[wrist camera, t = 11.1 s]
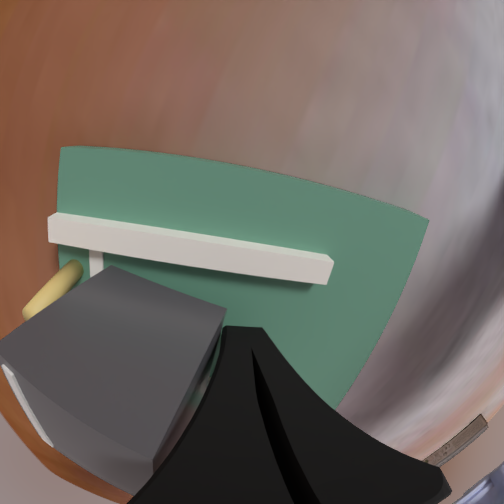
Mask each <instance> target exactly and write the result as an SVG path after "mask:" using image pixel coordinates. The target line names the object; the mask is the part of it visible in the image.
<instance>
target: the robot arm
mask: <svg viewBox="0 0 504 504" xmlns="http://www.w3.org/2000/svg"><path fill="white" fill-rule="evenodd" d="M451 492H452V490H451V488H450V486H449V484H448V482H447V480H446V478H445V476H444V475H443V473H442V471H441V469H440V468H439V467H437V466H435V465H432V464H429V463H426V462H423V461H420V460H418V459H415V458H412V457H410V456H407V455H405V454H403V453H401V452H399V451H397V450H395V449H393V448H391V447H389V446H387V445H385V444H383V443H381V442H379V441H378V440H376V439H374V438H373V437H371V436H370V435H368V434H366V433H365V432H363V431H362V430H360V429H359V428H357V427H356V426H354V425H353V424H352V423H350V422H349V421H348V420H346V419H345V418H344V417H342V416H341V415H340V414H339V413H337V412H336V411H335V410H334V409H333V408H331V407H330V406H329V405H328V404H327V403H326V402H325V401H324V400H323V399H321V398H320V397H319V396H318V395H317V394H316V393H315V392H314V391H313V390H312V388H311V387H310V386H309V385H308V384H307V383H306V382H305V381H304V380H303V379H302V378H301V377H300V375H299V374H298V373H297V372H296V371H295V370H294V368H293V367H292V366H291V365H290V364H289V362H288V361H287V360H286V359H285V357H284V356H283V355H282V353H281V352H280V351H279V349H278V348H277V347H276V345H275V344H274V343H273V341H272V340H271V338H270V337H269V336H268V334H267V333H266V331H265V330H264V329H263V328H262V327H246V326H230V325H226V326H224V327H223V328H222V335H221V343H220V351H219V356H218V359H217V362H216V365H215V368H214V371H213V374H212V377H211V379H210V381H209V384H208V386H207V388H206V391H205V393H204V395H203V397H202V399H201V401H200V403H199V405H198V407H197V409H196V411H195V413H194V415H193V417H192V418H191V420H190V422H189V424H188V425H187V427H186V429H185V430H184V432H183V433H182V435H181V437H180V438H179V440H178V441H177V443H176V444H175V446H174V447H173V449H172V450H171V452H170V453H169V454H168V456H167V457H166V458H165V460H164V461H163V462H162V464H161V465H160V466H159V468H158V469H157V470H156V471H155V473H154V474H153V475H152V477H151V478H150V479H149V480H148V481H147V483H146V484H145V485H144V486H143V487H142V488H141V489H140V490H139V491H138V492H137V493H136V494H135V496H134V497H133V498H132V499H131V500H130V501H129V502H128V503H127V504H438V503H439V502H441V501H442V500H443V499H445V498H446V497H448V496H449V495H450V494H451ZM452 504H504V462H502V464H500V465H499V466H498V467H497V468H496V469H494V470H493V471H492V472H491V473H489V474H488V475H486V476H485V477H484V478H482V479H481V480H480V481H478V482H477V483H476V484H474V485H473V486H472V487H471V488H470V489H468V490H467V491H466V492H465V493H464V494H463V496H462V497H461V498H459V499H458V500H457V501H455V502H454V503H452Z"/></svg>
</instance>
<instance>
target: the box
mask: <svg viewBox="0 0 504 504" xmlns="http://www.w3.org/2000/svg"><path fill="white" fill-rule="evenodd" d="M487 423H488V422H486V420H485V418H484V417H483V416H482V414H480V416H479V417H477V418H476V419H475V420H474V421H473V422H472V423H471V424H469V425H468V427H466V429H464V430H463V431H462V432H460V433H459V434H458V435H457V436H455V437H454V438H453V439H452V440H450V441H449V442H448V443H447V444H445V445H444V446H443V447H442V448H440V449H438V450H437V451H436V452H434V453H433V454H432V455H431V456H429V457H427V458H426V459H425V460H423V462H426V463H429V464H432V465H435V466H437V467H441V466H442V465H443V464H445V463H446V462H448V461H449V460H450V459H452V458H453V457H454V456H455V455H457V454H458V453H459V452H461V451H462V450H463V449H464V448H466V447H467V446H468V445H469V444H471V443H472V442H473V441H474V440H475V439H476V438H478V437H479V436H480V435H481V434H482V433H483V432H484V431H485V430H486V429H487V428H488V425H487Z"/></svg>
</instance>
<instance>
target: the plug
mask: <svg viewBox="0 0 504 504" xmlns="http://www.w3.org/2000/svg"><path fill="white" fill-rule="evenodd" d="M226 311H227V308H224V307H221V306H218V305H216V304H213V303H210V302H207V301H204V300H201V299H198V298H195V297H193V296H190V295H187V294H184V293H182V292H179V291H176V290H174V289H171V288H168V287H166V286H163V285H160V284H158V283H155V282H153V281H150V280H147V279H145V278H142V277H140V276H137V275H135V274H132V273H130V272H127V271H125V270H123V269H120V268H118V267H115V266H113V265H110V266H108V267H107V268H105V269H104V270H102V271H100V272H99V273H97V274H96V275H94V276H92V277H91V278H89V279H88V280H86V281H85V282H83V283H81V284H80V285H78V286H77V287H75V288H74V289H72V290H71V291H69V292H68V293H66V294H65V295H63V296H62V297H60V298H59V299H57V300H56V301H54V302H53V303H51V304H50V305H48V306H47V307H46V308H44V309H43V310H41V311H40V312H38V313H37V314H36V315H34V316H33V317H31V318H30V319H29V320H27V321H26V322H24V323H23V324H22V325H20V326H19V327H18V328H16V329H15V330H14V331H12V332H11V333H10V334H8V335H7V336H6V337H4V338H3V339H2V340H0V366H1V368H2V370H3V372H4V374H5V377H6V379H7V381H8V383H9V385H10V387H11V389H12V391H13V393H14V394H15V396H16V398H17V400H18V402H19V404H20V405H21V407H22V409H23V411H24V412H25V414H26V416H27V417H28V419H29V420H30V422H31V424H32V425H33V427H34V428H35V430H36V431H37V433H38V434H39V436H40V437H41V438H42V439H43V440H44V441H45V442H46V443H48V444H49V445H50V446H51V447H54V448H55V449H56V450H58V451H59V452H60V453H62V454H63V455H65V456H66V457H67V458H69V459H70V460H72V461H73V462H75V463H76V464H78V465H79V466H81V467H82V468H84V469H85V470H87V471H89V472H90V473H92V474H94V475H95V476H97V477H99V478H100V479H102V480H104V481H106V482H108V483H109V484H111V485H113V486H115V487H117V488H119V489H121V490H123V491H125V492H127V493H129V494H131V495H133V496H135V494H136V493H137V492H138V491H139V490H140V489H141V488H142V487H143V486H144V485H145V484H146V483H147V481H148V480H149V479H150V478H151V477H152V475H153V474H154V473H155V471H156V470H157V469H158V468H159V466H160V465H161V464H162V462H163V461H164V460H165V458H166V457H167V456H168V454H169V453H170V452H171V450H172V449H173V447H174V446H175V444H176V443H177V441H178V440H179V438H180V437H181V435H182V433H183V432H184V430H185V429H186V427H187V425H188V424H189V422H190V420H191V418H192V417H193V415H194V413H195V411H196V409H197V407H198V405H199V403H200V401H201V399H202V397H203V395H204V393H205V390H206V387H207V383H208V379H209V375H210V371H211V367H212V364H213V360H214V356H215V352H216V348H217V345H218V341H219V337H220V333H221V330H222V326H223V322H224V318H225V315H226Z"/></svg>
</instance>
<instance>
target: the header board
mask: <svg viewBox="0 0 504 504" xmlns="http://www.w3.org/2000/svg"><path fill="white" fill-rule="evenodd" d="M428 223H429V220H428V219H426V218H424V217H422V216H420V215H418V214H415V213H413V212H411V211H408V210H405V209H402V208H399V207H396V206H393V205H390V204H387V203H384V202H381V201H378V200H375V199H372V198H369V197H365V196H362V195H359V194H355V193H352V192H349V191H345V190H342V189H338V188H334V187H331V186H327V185H323V184H320V183H316V182H312V181H308V180H304V179H300V178H296V177H292V176H288V175H283V174H279V173H274V172H270V171H265V170H261V169H256V168H251V167H246V166H241V165H236V164H230V163H225V162H219V161H213V160H207V159H201V158H195V157H188V156H182V155H174V154H167V153H159V152H150V151H141V150H132V149H121V148H108V147H93V146H69V147H61V152H60V161H59V173H58V191H57V213H55V214H53V215H51V216H49V217H48V238H49V242H52V243H58V254H59V266H60V270H59V271H58V272H57V273H56V274H55V275H54V276H53V277H52V278H51V279H50V280H49V281H48V282H47V283H46V284H45V285H44V287H43V288H42V289H41V290H40V291H39V292H38V293H37V294H36V295H35V296H34V297H33V298H32V299H31V301H30V302H29V303H28V304H27V305H26V306H25V307H24V308H23V311H22V313H23V317H24V319H25V321H27V320H29V319H30V318H31V317H33V316H34V315H36V314H37V313H38V312H40V311H41V310H43V309H44V308H46V307H47V306H48V305H50V304H51V303H53V302H54V301H56V300H57V299H59V298H60V297H62V296H63V295H65V294H66V293H68V292H69V291H71V290H72V289H74V288H75V287H77V286H78V285H80V284H81V283H83V282H85V281H86V280H88V279H89V278H91V277H92V276H94V275H96V274H97V273H99V272H100V271H102V270H104V269H105V268H107V267H108V266H110V265H113V266H115V267H118V268H120V269H123V270H125V271H127V272H130V273H132V274H135V275H137V276H140V277H142V278H145V279H147V280H150V281H153V282H155V283H158V284H160V285H163V286H166V287H168V288H171V289H174V290H176V291H179V292H182V293H184V294H187V295H190V296H193V297H195V298H198V299H201V300H204V301H207V302H210V303H213V304H216V305H218V306H221V307H224V308H227V311H226V315H225V318H224V322H223V326H222V328H223V327H224V326H226V325H230V326H246V327H262V328H263V329H264V330H265V331H266V333H267V334H268V336H269V337H270V338H271V340H272V341H273V343H274V344H275V345H276V347H277V348H278V349H279V351H280V352H281V353H282V355H283V356H284V357H285V359H286V360H287V361H288V362H289V364H290V365H291V366H292V367H293V368H294V370H295V371H296V372H297V373H298V374H299V375H300V377H301V378H302V379H303V380H304V381H305V382H306V383H307V384H308V385H309V386H310V387H311V388H312V390H313V391H314V392H315V393H316V394H317V395H318V396H319V397H320V398H321V399H323V400H324V401H325V402H326V403H327V404H328V405H329V406H330V407H331V408H333V409H334V410H335V409H336V408H337V406H338V405H339V403H340V402H341V400H342V399H343V397H344V396H345V395H346V393H347V392H348V390H349V388H350V387H351V385H352V384H353V382H354V381H355V379H356V378H357V376H358V374H359V373H360V371H361V369H362V368H363V366H364V364H365V363H366V361H367V359H368V358H369V356H370V354H371V352H372V351H373V349H374V347H375V345H376V343H377V342H378V340H379V338H380V336H381V334H382V332H383V330H384V328H385V326H386V325H387V323H388V321H389V319H390V317H391V315H392V312H393V310H394V308H395V306H396V304H397V302H398V300H399V298H400V295H401V293H402V291H403V289H404V286H405V284H406V282H407V279H408V277H409V275H410V272H411V270H412V267H413V265H414V262H415V260H416V257H417V254H418V252H419V249H420V246H421V243H422V241H423V238H424V235H425V232H426V229H427V226H428ZM221 335H222V330H221V333H220V337H219V341H218V345H217V348H216V352H215V356H214V360H213V364H212V367H211V371H210V375H209V379H208V383H207V386H208V384H209V381H210V379H211V377H212V374H213V371H214V368H215V365H216V362H217V359H218V356H219V351H220V343H221ZM206 388H207V387H206ZM205 391H206V390H205Z"/></svg>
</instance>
